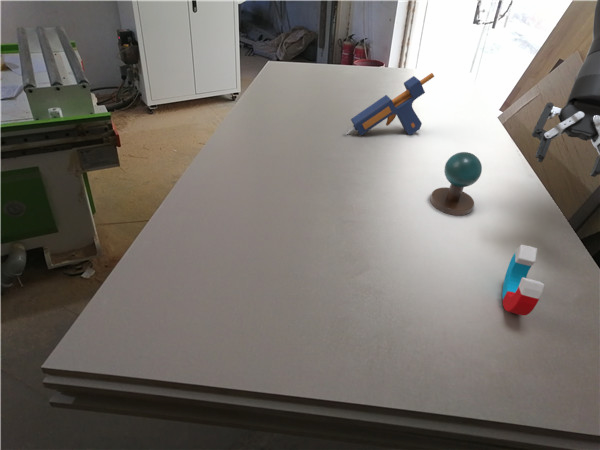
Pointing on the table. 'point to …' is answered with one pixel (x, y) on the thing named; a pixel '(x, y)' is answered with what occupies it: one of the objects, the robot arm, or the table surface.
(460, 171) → the ball stand
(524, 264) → the magnet
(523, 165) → the table surface
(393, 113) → the glue gun
